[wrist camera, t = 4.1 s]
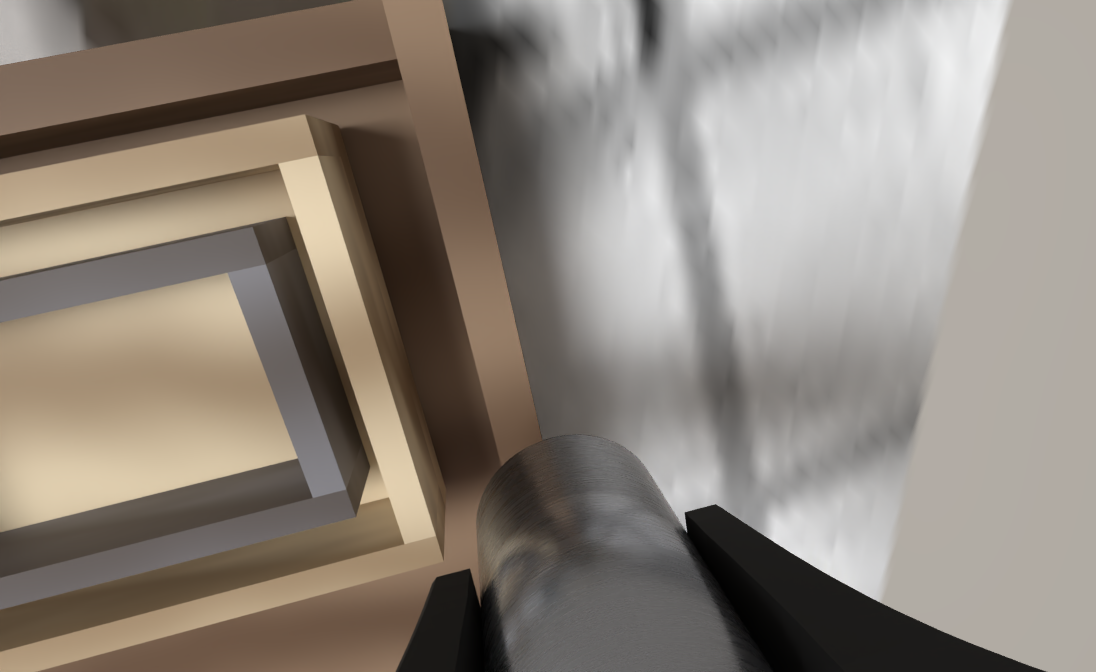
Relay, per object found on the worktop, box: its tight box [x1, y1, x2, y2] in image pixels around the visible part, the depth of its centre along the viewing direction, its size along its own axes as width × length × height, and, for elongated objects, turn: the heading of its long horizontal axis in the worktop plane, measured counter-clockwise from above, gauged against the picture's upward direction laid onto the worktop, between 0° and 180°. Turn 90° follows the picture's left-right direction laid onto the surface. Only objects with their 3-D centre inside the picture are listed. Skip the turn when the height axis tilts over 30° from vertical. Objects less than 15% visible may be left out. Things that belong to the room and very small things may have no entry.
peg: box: [476, 435, 774, 672], centre depth 10 cm, size 4×4×6 cm
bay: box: [0, 0, 542, 672], centre depth 16 cm, size 22×21×4 cm
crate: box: [0, 114, 446, 672], centre depth 14 cm, size 11×15×4 cm
